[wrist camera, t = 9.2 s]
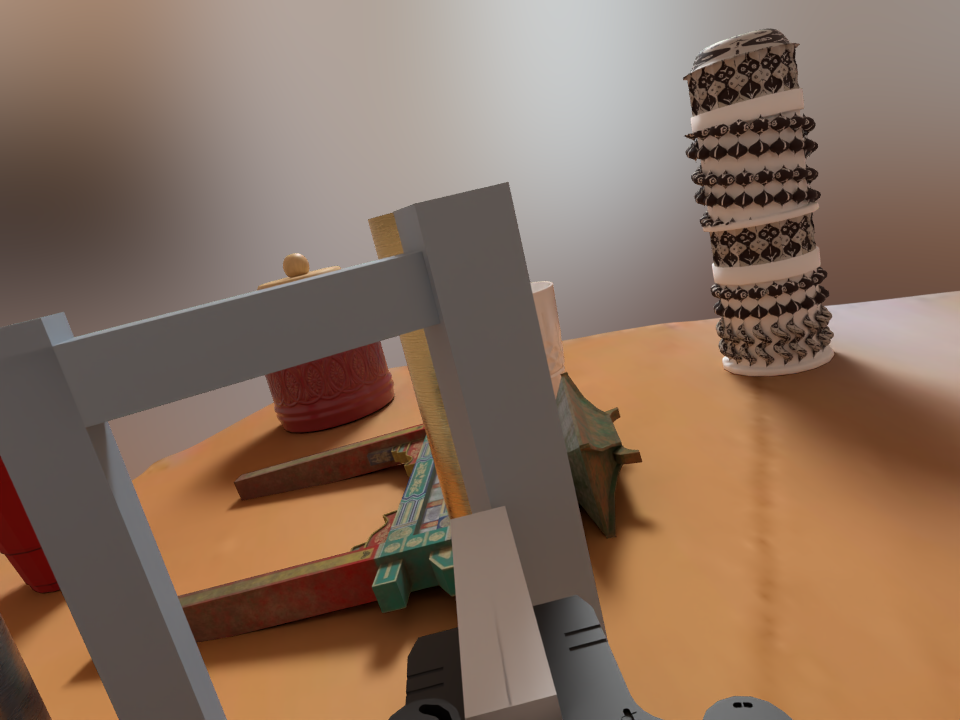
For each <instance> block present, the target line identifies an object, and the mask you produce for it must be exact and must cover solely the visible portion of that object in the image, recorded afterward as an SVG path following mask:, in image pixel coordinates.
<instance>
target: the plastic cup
mask: <svg viewBox="0 0 960 720" xmlns="http://www.w3.org/2000/svg"><path fill="white" fill-rule="evenodd" d="M0 552H1V553H2V554H5V556H6V557H7V558H8V560H9V561H10V563H11V564H12V565H13V567H14V568H15V569H16V571H17V572H18V573H19V575H20V576H21V577H22V579H23V580H24V582H25V583H26V584H28V585H30V586H31V588H32V589H33V590H34V591H36V592H39V593H44V592H52V591H57V590H60V587H59V585H58V583H57V580H56V578H55V576H54V574H53V571H52V569H51V567H50V565H49V563H48V560H47V558H46V556H45V554H44V551H43V549H42V547H41V545H40V542H39V540H38V538H37V536H36V534H35V531H34V529H33V527H32V525H31V522H30V520H29V518H28V516H27V514H26V511H25V509H24V507H23V505H22V502H21V500H20V498H19V496H18V494H17V491H16V489H15V487H14V485H13V482H12V480H11V478H10V476H9V474H8V471H7V469H6V467H5V465H4V462H3V460H2V458H1V456H0Z"/></svg>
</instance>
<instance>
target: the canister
mask: <svg viewBox="0 0 960 720" xmlns="http://www.w3.org/2000/svg"><path fill="white" fill-rule="evenodd" d="M283 269H284V272H285V273H286V275H287V276H288V277H287V278H283V279H279V280H276V281H272V282H269V283H265V284H262V285H260V286H258V289H257V291H258V290H262V289H266V288H270V287H274V286H277V285H281V284H285V283H289V282H293V281H297V280H301V279H305V278H309V277H313V276H317V275H320V274H324V273H328V272H332V271H336V270H340V269H341V268H340V267H339V266H333V267H328V268H324V269H319V270H315V271H311V272H309V263H308V261H307V259H306V258H305V257H304V256H303V255H301V254H298V253H296V254H295V253H294V254H291V255H288V256H287V257H286V258H285V259H284V262H283ZM265 377H266V380H267V383H268V385H269V388H270V391H271V395H272V397H273V401H274V404H275V407H274V409H275V412H276V413H277V418H278V420H279V421H280V422H281V424H282V426H283V428H284V429H285V430H287V431H290V432H311V431H318V430H323V429H327V428H331V427H335V426H339V425H342V424H345V423H348V422H351V421H354V420H357V419H359V418H362V417H364V416H367V415H369V414H371V413H373V412H375V411H377V410H379V409H380V408H382V407H384V406H385V405H387V404H388V403H389V402H390V401H391V400H392V399H393V397H394V390H393V386H394V382H393V380H392V375H391V373H390V372H389V370H388V367H387V363H386V360H385V356H384V352H383V349H382V346H381V342H380V341H378V342H375V343H372V344H368V345H365V346H361V347H358V348H355V349H351V350H348V351H344V352H341V353H338V354H334V355H331V356H327V357H324V358H321V359H317V360H314V361H310V362H307V363H304V364H300V365H297V366H293V367H290V368H287V369H283V370H280V371H277V372H273V373H270V374H266V375H265Z"/></svg>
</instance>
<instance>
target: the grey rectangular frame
mask: <svg viewBox="0 0 960 720" xmlns="http://www.w3.org/2000/svg"><path fill="white" fill-rule="evenodd" d="M393 214H394V217H395V221H396V225H397V229H398V233H399V236H400V240H401V244H402V248H403V252H404V253H403V254H399V255H395V256H391V257H387V258H383V259H379V260H375V261H372V262H368V263H364V264H360V265H356V266H352V267H348V268H344V269H340V270H336V271H332V272H328V273H324V274H320V275H317V276H313V277H309V278H305V279H301V280H297V281H293V282H289V283H285V284H281V285H277V286H274V287H270V288H266V289H262V290H258V291H254V292H250V293H246V294H243V295H238V296H234V297H231V298H227V299H223V300H219V301H215V302H211V303H207V304H203V305H199V306H195V307H191V308H188V309H184V310H180V311H176V312H172V313H168V314H164V315H160V316H156V317H152V318H149V319H145V320H141V321H137V322H133V323H129V324H125V325H121V326H117V327H113V328H109V329H105V330H101V331H97V332H94V333H89V334H86V335H82V336H78V337H74V336H73V334H72V331H71V329H70V326H69V324H68V321H67V319H66V316H65V314H64V312H62V313H58V314H54V315H50V316H46V317H42V318H37V319H33V320H29V321H25V322H21V323H17V324H13V325H9V326H5V327H1V328H0V456H1V458H2V460H3V462H4V465H5V467H6V469H7V471H8V474H9V476H10V478H11V480H12V482H13V485H14V487H15V489H16V491H17V494H18V496H19V498H20V500H21V502H22V505H23V507H24V509H25V511H26V514H27V516H28V518H29V520H30V522H31V525H32V527H33V529H34V531H35V534H36V536H37V538H38V540H39V542H40V545H41V547H42V549H43V551H44V554H45V556H46V558H47V560H48V563H49V565H50V567H51V569H52V571H53V574H54V576H55V578H56V580H57V583H58V585H59V587H60V589H61V591H62V594H63V596H64V598H65V600H66V603H67V605H68V607H69V609H70V611H71V614H72V616H73V618H74V620H75V623H76V625H77V627H78V629H79V631H80V634H81V636H82V638H83V640H84V643H85V645H86V647H87V649H88V652H89V654H90V656H91V658H92V660H93V663H94V665H95V667H96V669H97V672H98V674H99V676H100V678H101V680H102V683H103V685H104V687H105V689H106V692H107V694H108V696H109V698H110V700H111V703H112V705H113V707H114V709H115V712H116V714H117V716H118V718H119V720H227V719H226V716H225V714H224V711H223V709H222V706H221V704H220V701H219V699H218V696H217V694H216V691H215V689H214V686H213V684H212V681H211V679H210V676H209V674H208V671H207V669H206V666H205V664H204V661H203V659H202V656H201V654H200V651H199V649H198V646H197V644H196V641H195V639H194V636H193V634H192V631H191V629H190V626H189V624H188V621H187V619H186V616H185V614H184V611H183V609H182V606H181V604H180V601H179V599H178V596H177V594H176V591H175V589H174V586H173V584H172V581H171V579H170V576H169V574H168V571H167V569H166V566H165V564H164V561H163V559H162V556H161V554H160V551H159V549H158V546H157V544H156V541H155V539H154V536H153V534H152V531H151V529H150V526H149V524H148V521H147V519H146V516H145V514H144V511H143V509H142V506H141V504H140V501H139V499H138V496H137V494H136V491H135V489H134V486H133V484H132V481H131V479H130V476H129V474H128V471H127V469H126V466H125V464H124V461H123V459H122V456H121V454H120V451H119V449H118V446H117V444H116V441H115V439H114V436H113V434H112V431H111V429H110V426H109V424H108V421H110V420H113V419H117V418H120V417H124V416H127V415H130V414H134V413H137V412H141V411H144V410H147V409H151V408H154V407H157V406H161V405H164V404H168V403H171V402H175V401H178V400H181V399H184V398H188V397H192V396H194V395H198V394H202V393H205V392H209V391H212V390H215V389H219V388H222V387H225V386H229V385H232V384H236V383H239V382H243V381H246V380H249V379H253V378H256V377H259V376H263V375H266V374H270V373H273V372H277V371H280V370H283V369H287V368H290V367H293V366H297V365H300V364H304V363H307V362H310V361H314V360H317V359H321V358H324V357H327V356H331V355H334V354H338V353H341V352H344V351H348V350H351V349H355V348H358V347H361V346H365V345H368V344H372V343H375V342H378V341H382V340H385V339H388V338H392V337H395V336H399V335H402V334H406V333H409V332H412V331H416V330H419V329H423V328H424V332H425V336H426V340H427V343H428V347H429V351H430V355H431V359H432V362H433V366H434V370H435V374H436V378H437V381H438V385H439V389H440V393H441V397H442V401H443V404H444V408H445V412H446V416H447V420H448V423H449V427H450V431H451V435H452V439H453V443H454V446H455V450H456V454H457V458H458V462H459V465H460V469H461V473H462V477H463V481H464V485H465V488H466V492H467V496H468V500H469V504H470V507H471V511H472V514H474V513H478V512H482V511H486V510H490V509H494V508H498V507H502V506H505V508H506V511H507V515H508V519H509V522H510V526H511V530H512V533H513V537H514V541H515V544H516V548H517V552H518V555H519V559H520V563H521V566H522V570H523V574H524V577H525V581H526V584H527V588H528V592H529V595H530V599H531V603H532V606H535V605H539V604H543V603H547V602H551V601H555V600H559V599H562V598H566V597H570V596H574V595H578V596H579V597H580V598H582V599H583V600H584V601H586V602H587V603H588V604H589V605H591V606H592V607H593V609H594V611H595V614H596V616H597V618H598V621H599V623H600V626H601V628H602V630H603V632H604V635H605V637H606V640H607V635H606V630H605V626H604V621H603V617H602V612H601V607H600V603H599V598H598V594H597V589H596V584H595V580H594V575H593V570H592V566H591V561H590V557H589V552H588V547H587V543H586V538H585V533H584V529H583V524H582V520H581V515H580V510H579V506H578V501H577V497H576V492H575V487H574V483H573V478H572V473H571V469H570V464H569V460H568V455H567V450H566V446H565V441H564V436H563V432H562V427H561V423H560V418H559V413H558V409H557V404H556V400H555V395H554V390H553V386H552V381H551V376H550V372H549V367H548V363H547V358H546V353H545V349H544V344H543V339H542V335H541V330H540V326H539V321H538V316H537V312H536V307H535V302H534V298H533V293H532V289H531V284H530V280H529V275H528V270H527V266H526V261H525V256H524V252H523V247H522V242H521V238H520V233H519V229H518V224H517V219H516V216H515V210H514V205H513V201H512V196H511V192H510V187H509V183H508V182H506V183H502V184H498V185H494V186H489V187H485V188H481V189H476V190H472V191H468V192H463V193H459V194H455V195H451V196H446V197H442V198H438V199H433V200H429V201H425V202H420V203H416V204H413V205H410V206H408V207H405V208H402V209H400V210H397V211H394V212H393ZM607 642H608V640H607Z"/></svg>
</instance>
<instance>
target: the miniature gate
mask: <svg viewBox="0 0 960 720" xmlns="http://www.w3.org/2000/svg"><path fill="white" fill-rule="evenodd" d="M560 375H561V380H560V384H559V389H558V393H557V397H556V404H557V409H558V413H559V418H560V423H561V427H562V432H563V436H564V441H565V446H566V450H567V455H568V460H569V464H570V469H571V473H572V478H573V483H574V487H575V492H576V497H577V501H578V502H579V503H580V505H581V506H582V507H583V508H584V510H585V511H586V512H587V513H588V515H589V516H590V517H591V518H592V520H593V521H594V522H595V523H596V525H597V526H598V527H599V528H600V530H601V531H602V532H603V533H604V534H605V536H606V538H613V537H616V533H615V491H616V486H617V481H618V476H619V471H620V469H621V467H622V465H623V464H632V463H639V462H642V459H641V456H640V452H639V450H631V449H626V448H624V447H623V446H622V444H621V441H620V438H619V436H618V434H617V432H616V429H615V427H614V425H613V422H614V421H615V420H616V419H618V418H620V414H619V411H618V408H614V409H611V410H609V411H606V412H603V411H601V410H600V409H598V408H596V407H595V406H594V405H593V404H592V403H590V402H589V401H588V400H587V399H586V398H584V397H583V395H582V394H581V392H580V391H579V390H578V388H577V387H576V385H575V384H574V383H573V381H572V380H571V378H570V377H569V376H568V373H567V372H566V373H562V374H560ZM406 462H408V463H407V464H405V465H404V468H405V470H406V473H407V476H408V477H410V479H409V481H408V484H407V487H406V489H405V492H404V494H403V497H402V500H401V502H400V505H399V508H398V510H396V511H393V512H390V513H387V514H384V515H383V518H384V521H385V524H384V525H383V526H382V527H381V528H379V529H378V530H376V531H375V532H374V533H373V534H371V536H370V537H369V539H368V541H367V542H365V543H362V544H360V545H357V546H354V547H353V548H352V549H351V551H350V552H347V553H343V554H339V555H335V556H331V557H328V558H324V559H320V560H316V561H312V562H308V563H304V564H301V565H297V566H293V567H289V568H285V569H281V570H277V571H274V572H270V573H266V574H262V575H258V576H254V577H250V578H246V579H243V580H239V581H235V582H231V583H227V584H223V585H219V586H216V587H212V588H208V589H204V590H200V591H196V592H192V593H189V594H185V595H181V596H178V599H179V601H180V604H181V606H182V609H183V611H184V614H185V616H186V619H187V621H188V624H189V626H190V629H191V631H192V634H193V636H194V639H195V641H196V642H202V641H208V640H213V639H219V638H225V637H231V636H235V635H239V634H243V633H247V632H251V631H255V630H259V629H263V628H267V627H271V626H275V625H279V624H283V623H287V622H292V621H296V620H300V619H304V618H308V617H312V616H316V615H320V614H324V613H328V612H332V611H336V610H340V609H344V608H348V607H352V606H356V605H360V604H364V603H368V602H373V601H378V604H379V606H380V609H381V611H382V613H386V612H390V611H394V610H398V609H402V608H406V606H407V602H408V599H409V595H410V592H413V591H417V590H421V589H425V588H429V587H433V586H437V585H439V586H440V587H441V588H443V589H444V590H445V591H446V592H447V593H448V594H449V595H451V596H456V591H455V578H454V564H453V551H452V538H451V524H450V520H449V516H448V512H447V509H446V505H445V501H444V498H443V494H442V490H441V486H440V483H439V479H438V475H437V472H436V468H435V464H434V461H433V457H432V453H431V450H430V446H429V442H428V439H427V435H426V431H425V428H424V424H420V425H417V426H413V427H410V428H406V429H403V430H399V431H395V432H392V433H388V434H385V435H381V436H378V437H374V438H371V439H367V440H364V441H360V442H357V443H353V444H349V445H346V446H342V447H339V448H335V449H332V450H328V451H325V452H321V453H318V454H314V455H311V456H307V457H303V458H300V459H296V460H293V461H289V462H286V463H282V464H279V465H275V466H272V467H268V468H264V469H261V470H257V471H254V472H250V473H247V474H243V475H241V476H240V477H239V478H238V479H237V480H236V481H235V482H234V484H235V486H236V488H237V491H238V493H239V495H240V497H241V500H247V499H252V498H257V497H262V496H267V495H272V494H277V493H282V492H287V491H292V490H297V489H302V488H307V487H312V486H317V485H322V484H328V483H333V482H336V481H340V480H344V479H347V478H351V477H355V476H358V475H362V474H365V473H369V472H373V471H376V470H380V469H384V468H387V467H391V466H395V465H398V464H402V463H406Z"/></svg>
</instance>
